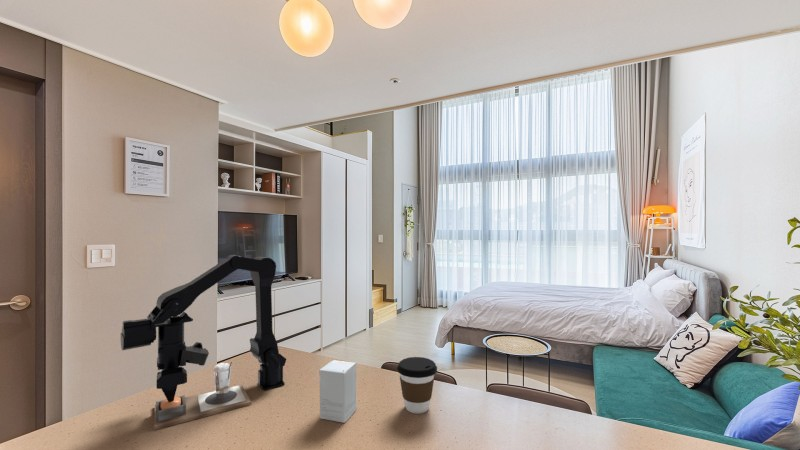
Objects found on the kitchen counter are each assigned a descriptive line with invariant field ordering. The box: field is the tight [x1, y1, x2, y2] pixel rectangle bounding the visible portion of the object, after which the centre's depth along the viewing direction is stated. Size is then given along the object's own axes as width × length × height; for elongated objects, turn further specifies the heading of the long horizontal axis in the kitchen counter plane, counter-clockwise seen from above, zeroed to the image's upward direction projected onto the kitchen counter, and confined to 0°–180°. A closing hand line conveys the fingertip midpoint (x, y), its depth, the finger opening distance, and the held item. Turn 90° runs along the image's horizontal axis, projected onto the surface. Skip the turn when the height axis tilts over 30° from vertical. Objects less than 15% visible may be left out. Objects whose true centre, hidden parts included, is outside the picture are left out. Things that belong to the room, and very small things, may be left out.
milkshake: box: [212, 361, 233, 399], centre depth 101 cm, size 5×5×10 cm
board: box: [153, 384, 252, 431], centre depth 97 cm, size 22×13×3 cm, turn 124°
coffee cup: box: [396, 356, 438, 414], centre depth 96 cm, size 11×11×12 cm
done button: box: [161, 396, 181, 410], centre depth 92 cm, size 4×4×3 cm
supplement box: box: [318, 359, 358, 424], centre depth 93 cm, size 7×7×13 cm
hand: (171, 401), depth 92 cm, fingers closed, pressing on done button
